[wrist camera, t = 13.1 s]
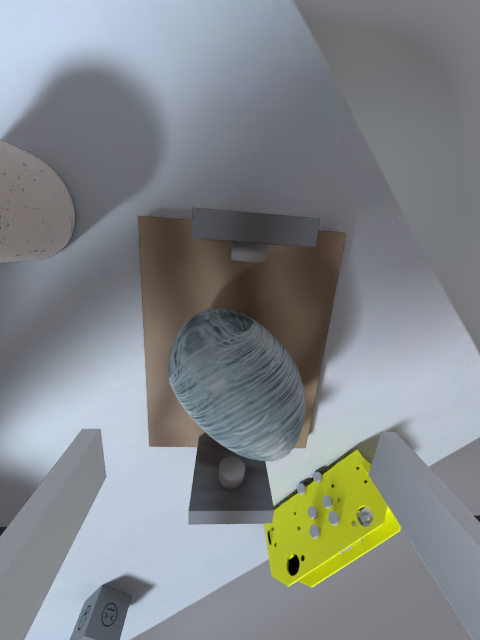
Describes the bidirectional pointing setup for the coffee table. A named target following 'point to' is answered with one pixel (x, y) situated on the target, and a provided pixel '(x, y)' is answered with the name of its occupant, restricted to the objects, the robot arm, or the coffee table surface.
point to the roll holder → (243, 297)
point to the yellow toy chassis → (328, 524)
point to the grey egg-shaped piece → (238, 384)
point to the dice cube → (102, 615)
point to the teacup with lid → (31, 207)
